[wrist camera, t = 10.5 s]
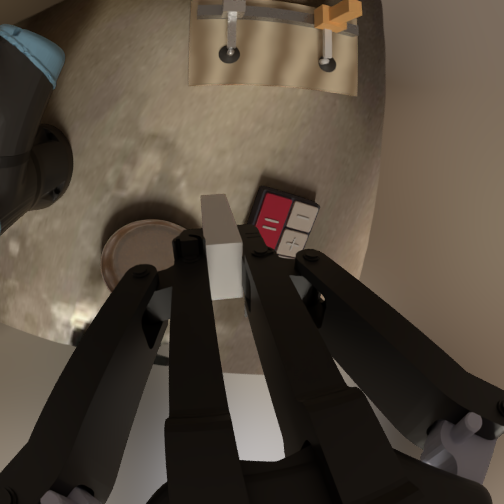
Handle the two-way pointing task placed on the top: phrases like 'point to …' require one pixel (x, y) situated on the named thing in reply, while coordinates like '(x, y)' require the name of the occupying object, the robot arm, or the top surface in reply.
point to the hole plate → (270, 53)
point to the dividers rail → (258, 18)
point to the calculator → (283, 220)
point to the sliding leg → (334, 22)
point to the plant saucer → (138, 248)
